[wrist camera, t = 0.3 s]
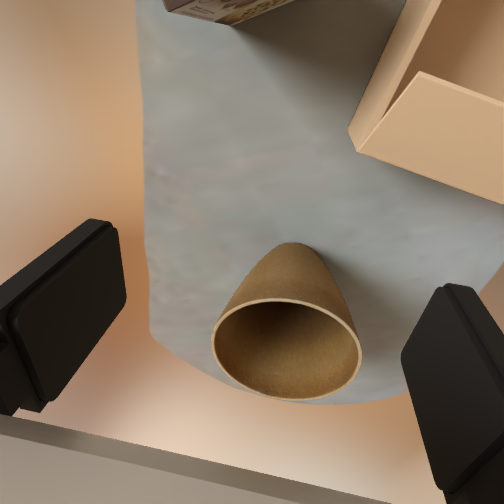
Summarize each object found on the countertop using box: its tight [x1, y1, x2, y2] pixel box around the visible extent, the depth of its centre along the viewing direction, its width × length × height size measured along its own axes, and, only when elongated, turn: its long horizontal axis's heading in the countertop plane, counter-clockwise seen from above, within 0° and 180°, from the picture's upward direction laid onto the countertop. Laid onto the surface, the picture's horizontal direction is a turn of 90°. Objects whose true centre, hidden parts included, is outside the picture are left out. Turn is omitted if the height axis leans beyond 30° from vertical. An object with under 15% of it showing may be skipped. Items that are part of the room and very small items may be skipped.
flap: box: [358, 71, 504, 204], centre depth 23 cm, size 8×13×1 cm
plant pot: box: [211, 243, 362, 401], centre depth 39 cm, size 15×15×16 cm
